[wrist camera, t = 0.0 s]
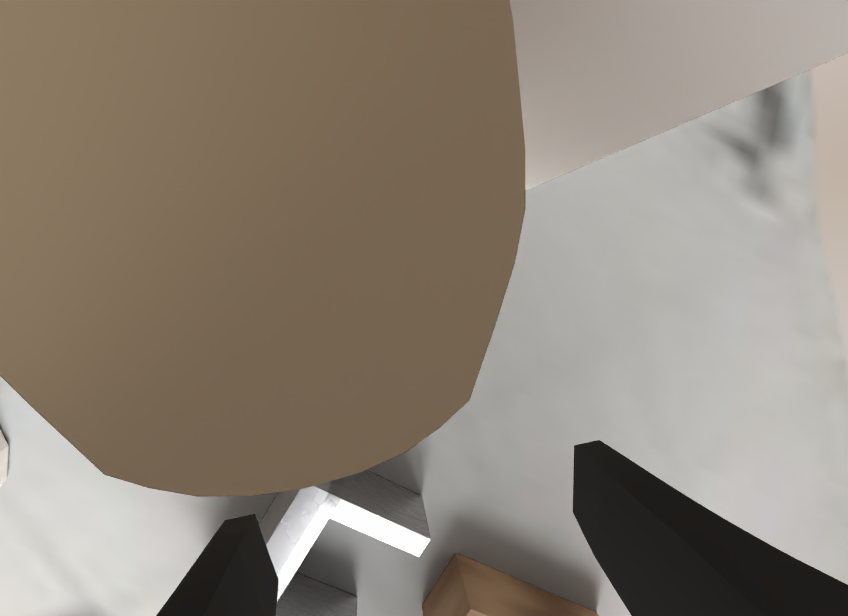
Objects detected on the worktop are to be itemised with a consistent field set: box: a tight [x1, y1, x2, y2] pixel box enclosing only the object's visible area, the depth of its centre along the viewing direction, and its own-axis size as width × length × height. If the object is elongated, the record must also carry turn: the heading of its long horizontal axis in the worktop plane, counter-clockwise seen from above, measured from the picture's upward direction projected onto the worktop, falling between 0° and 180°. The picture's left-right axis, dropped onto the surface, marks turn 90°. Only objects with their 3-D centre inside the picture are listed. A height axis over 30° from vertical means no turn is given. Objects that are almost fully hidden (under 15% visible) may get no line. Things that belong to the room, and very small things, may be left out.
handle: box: [0, 0, 525, 496], centre depth 10 cm, size 5×6×15 cm
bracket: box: [259, 470, 431, 616], centre depth 18 cm, size 6×10×4 cm
